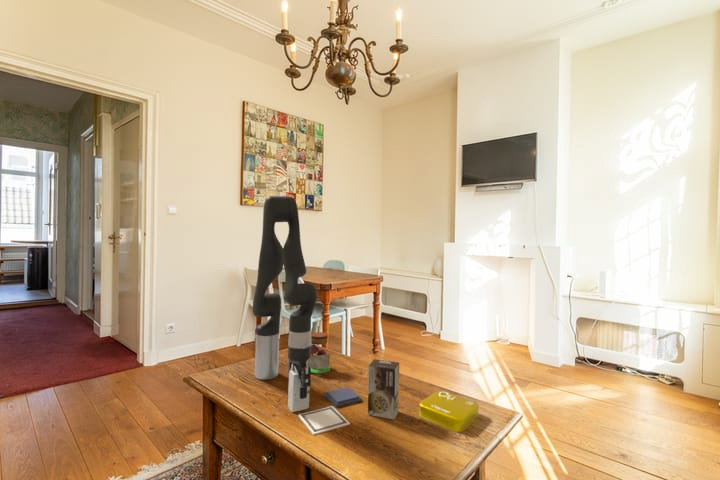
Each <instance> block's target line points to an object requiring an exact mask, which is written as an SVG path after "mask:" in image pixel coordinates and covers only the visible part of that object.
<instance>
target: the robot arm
mask: <svg viewBox="0 0 720 480" xmlns="http://www.w3.org/2000/svg"><path fill="white" fill-rule="evenodd" d="M262 211H263V213H262V215H263V216H262V236H261V245H260V251H259V257H258V268H257V279H256V285H255V291H254V294H253V295H254V296H253V301H252V314H253V316H255V318H267V317H269V319H268V320H266V321H264V322H263V323H260V324H257V326H255V327H256V328H255V351H254V352H255V355H254V356H255V357H254V378H256V379H257V380H262V381H263V380H271V379H275V378H276V377H278V376H279V361H280V359H279V355H280V327H281V323H280V322H281V310H282V297H281V295H280V294H279V293H277V292H276V293H273V292H272V293H271V292H270V293H266V292H267V290H268V288H269V287H270V285H271V284H272V283H274V281H275V280H276V279H277V278H278V277H279V276H280V275H281V273H282V272H283V270H284V273H285V274H284V275H285V279H284V299H285V301H286V303H287V304H288V305H290V306H291V307H292V306H293V307H297V306H299V308H298V310H296V311H294V312H292V313H290V315H289V331H288V340H287V346H288V347H287V358H288V373H289V371H292V370H294V371H295V372H296V376H297V380H298V381H299V383H300V398H301V399H304V398H307V387H309V386H310V387H311V378H312V377H311V376H312V375H311V374H312V373H311V368H310V367H307V364H306V361H307V360H308V359H310V358H311V355H312V354H311V345H312V343H311V334H312V316H313V313H314V310H315V306H316V302H317V296H318V293H317V288H316V287H315V285H314V284H313V283H311V282H305V283H304V282H303V283H298V282H299V279H300V278H302V277H304V276H305V275H306V273H307V267H306V264H305V257H304V255H303V248H302V243H301V241H302V240H301V228H300V218H299V208H298V203H297V202H296V200H295V198H294V197H292V196H288V195H285V196H283V195H282V196H281V195H270V196H267V197H266V199H265V200H264V204H263V210H262ZM276 223H287V225H288V234H287V237H286V240H285V243H284V244H283V246H282V244H281V242H280V241H279V239H278V237H277V235H276V231H275V226H276ZM300 376H302V377H300ZM307 379H308V380H307Z"/></svg>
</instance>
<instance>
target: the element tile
mask: <svg viewBox="0 0 720 480" xmlns="http://www.w3.org/2000/svg"><path fill="white" fill-rule="evenodd" d="M418 416H419V417H420V418H422V419H424V420H425V421H428V422H431V423H433V424H435V425H439V427H443V428H445V429H447V430H450V431H453V432H455V433H462V432H464V431H465V430H466V429H467V428H469V426H471V425H472V424H473V423H474V422H475V421H476V420H477V419H478V418H479V404H478V402H477V401H473V400H470V399H467V398H464V397H462V396H459V395H456V394H453V393H450V392H447V391H444V390H437V391H435V392H434V393H432V394H430V395H429V396H427V397H426V398H425V399H422V400H421V401H420V402H419V405H418ZM474 420H475V421H474ZM471 423H472V424H471ZM470 424H471V425H470Z"/></svg>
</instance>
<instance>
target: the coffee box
mask: <svg viewBox="0 0 720 480" xmlns="http://www.w3.org/2000/svg"><path fill="white" fill-rule="evenodd" d="M367 368H368V369H367V370H368V376H367V377H368V378H367V379H368V383H367V386H368V387H367V388H368V389H367V415H368V416H371V417H372V416H373V417H377V418H378V417H379V418H384V419H389V420H395V419H396V418H397V416H398V414H399V401H400V400H399V399H400V398H399V397H400V396H399V395H400V394H399V393H400V362H398V361H390V360H381V359H377V358H376V359H372V361H371V362H370V363H369V364H368V367H367Z"/></svg>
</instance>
